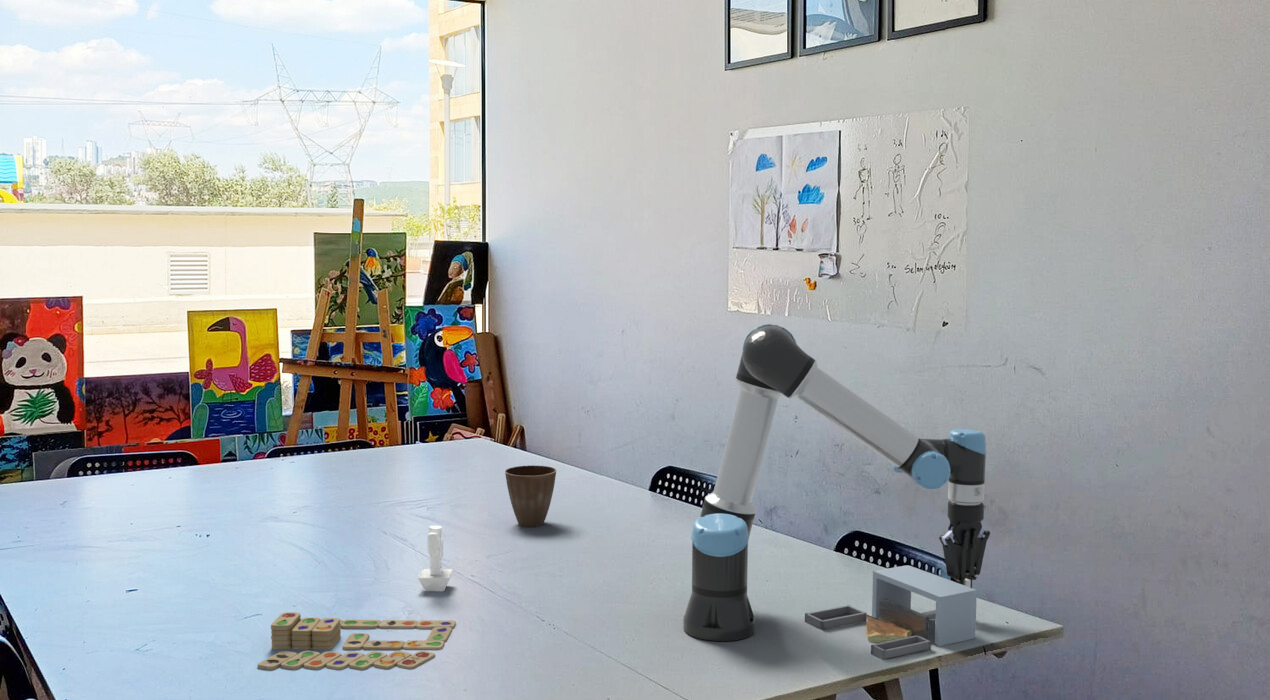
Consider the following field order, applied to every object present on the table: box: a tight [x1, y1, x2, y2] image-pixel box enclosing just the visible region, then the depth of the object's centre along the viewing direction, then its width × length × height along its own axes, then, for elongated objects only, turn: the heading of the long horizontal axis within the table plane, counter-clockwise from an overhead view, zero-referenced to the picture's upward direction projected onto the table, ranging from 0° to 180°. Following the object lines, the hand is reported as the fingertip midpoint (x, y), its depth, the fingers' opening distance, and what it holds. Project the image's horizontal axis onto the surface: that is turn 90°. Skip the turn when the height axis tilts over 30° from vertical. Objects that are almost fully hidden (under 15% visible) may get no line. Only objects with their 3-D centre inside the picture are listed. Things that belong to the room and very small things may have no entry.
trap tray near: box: [870, 635, 932, 661], centre depth 217 cm, size 12×4×2 cm, turn 118°
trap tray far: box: [804, 604, 868, 631], centre depth 235 cm, size 12×6×2 cm, turn 118°
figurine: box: [417, 525, 454, 592], centre depth 256 cm, size 7×9×15 cm
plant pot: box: [504, 464, 557, 528], centre depth 318 cm, size 15×15×16 cm
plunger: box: [878, 598, 936, 641], centre depth 232 cm, size 16×14×6 cm
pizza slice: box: [865, 614, 912, 643], centre depth 228 cm, size 13×9×2 cm
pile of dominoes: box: [257, 611, 457, 671], centre depth 220 cm, size 35×27×6 cm
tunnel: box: [871, 565, 978, 647], centre depth 231 cm, size 10×20×10 cm, turn 28°
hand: (962, 607), depth 237 cm, fingers closed
